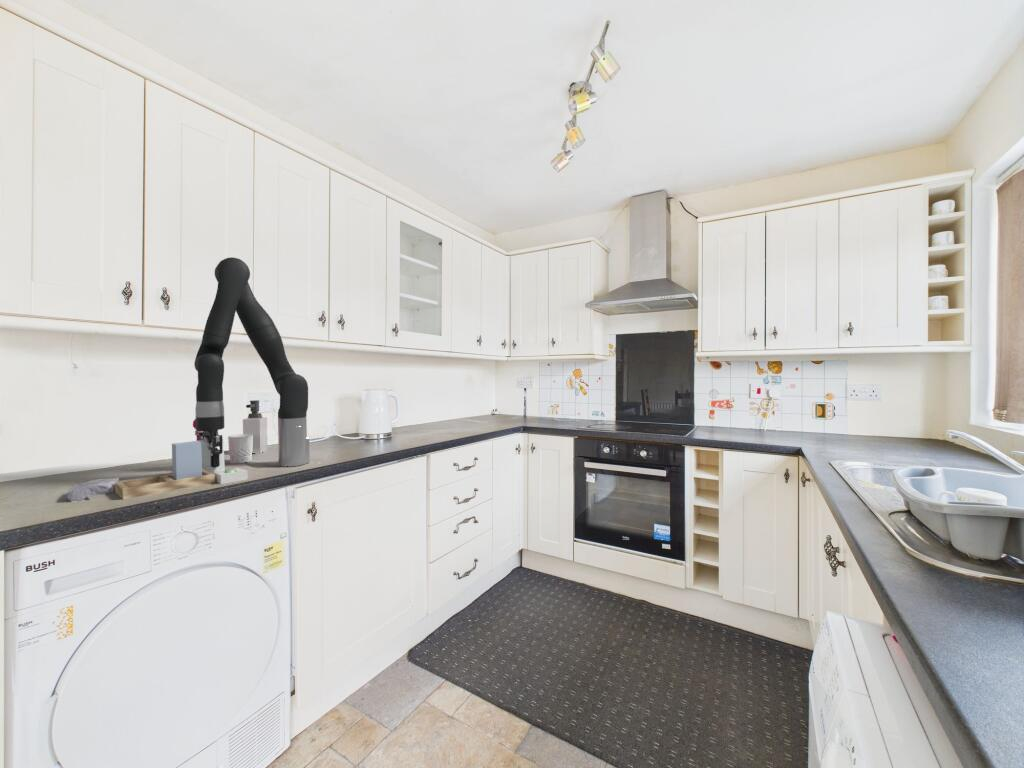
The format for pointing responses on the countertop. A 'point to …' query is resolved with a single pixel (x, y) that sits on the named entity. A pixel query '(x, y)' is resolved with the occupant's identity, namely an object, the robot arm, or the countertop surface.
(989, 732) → the countertop surface
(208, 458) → the skincare box
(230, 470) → the button
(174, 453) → the seated block
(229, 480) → the button box
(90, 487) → the stone block
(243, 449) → the white cup
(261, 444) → the soap dispenser
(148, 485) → the pallet
